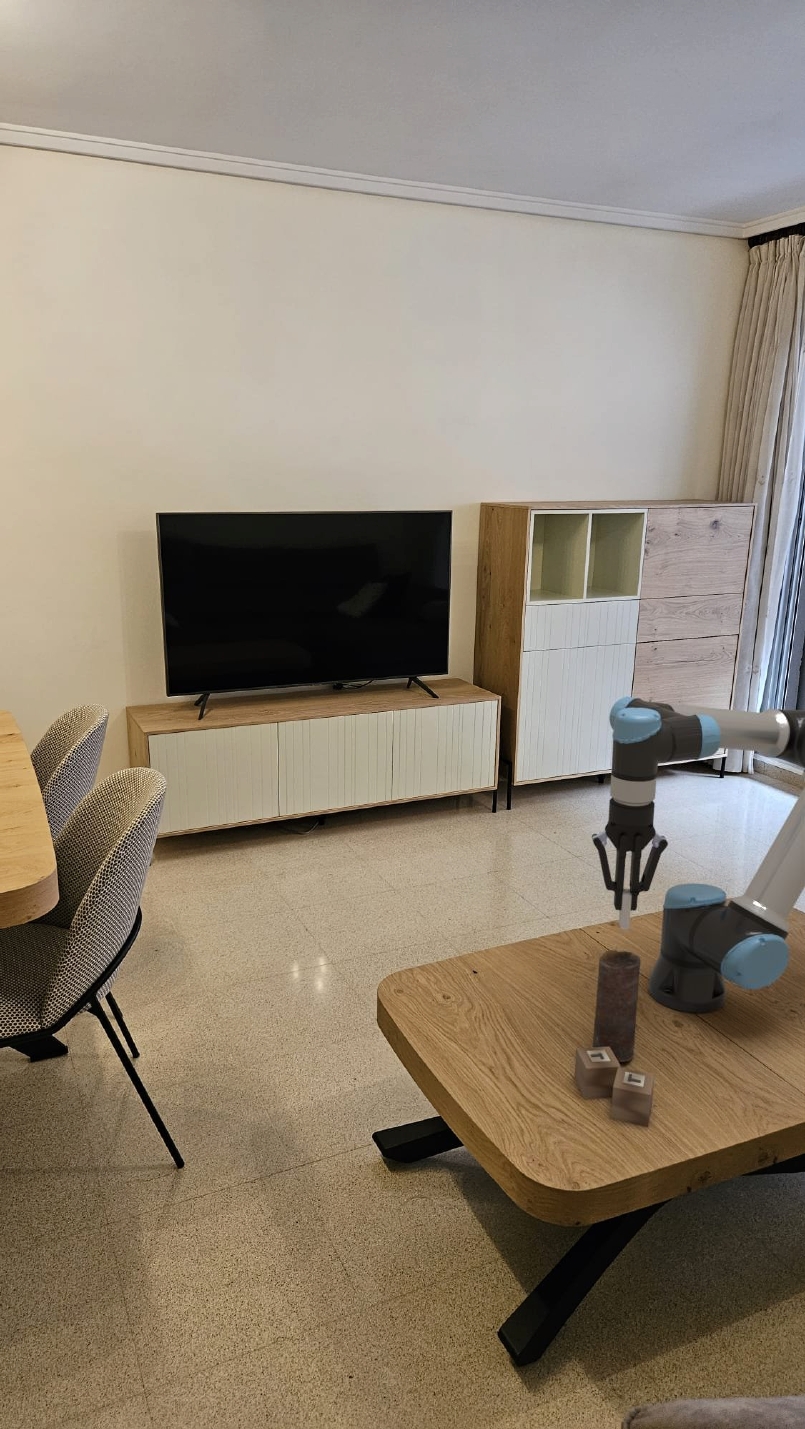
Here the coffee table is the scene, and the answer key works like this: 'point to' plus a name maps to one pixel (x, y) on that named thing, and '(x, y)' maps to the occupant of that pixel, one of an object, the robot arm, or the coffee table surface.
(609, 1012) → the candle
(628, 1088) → the block seven
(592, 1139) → the coffee table surface
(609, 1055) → the block two
